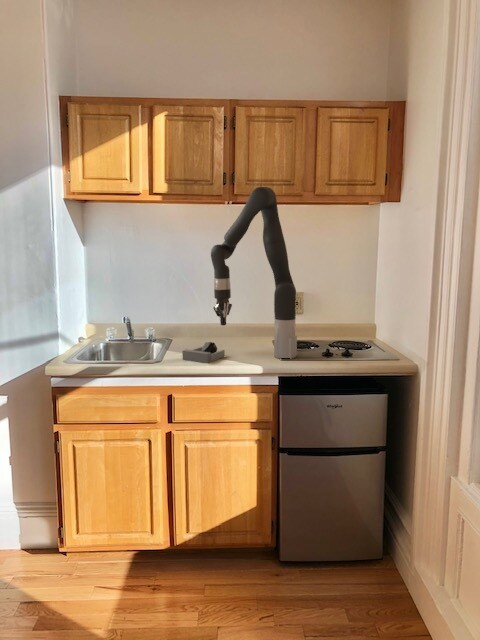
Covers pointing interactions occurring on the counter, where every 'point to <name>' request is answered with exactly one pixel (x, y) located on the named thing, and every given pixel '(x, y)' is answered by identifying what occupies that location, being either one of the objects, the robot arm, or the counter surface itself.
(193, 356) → the socket bay
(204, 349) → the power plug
